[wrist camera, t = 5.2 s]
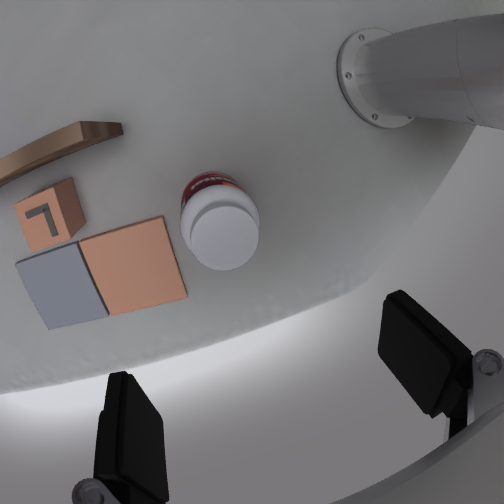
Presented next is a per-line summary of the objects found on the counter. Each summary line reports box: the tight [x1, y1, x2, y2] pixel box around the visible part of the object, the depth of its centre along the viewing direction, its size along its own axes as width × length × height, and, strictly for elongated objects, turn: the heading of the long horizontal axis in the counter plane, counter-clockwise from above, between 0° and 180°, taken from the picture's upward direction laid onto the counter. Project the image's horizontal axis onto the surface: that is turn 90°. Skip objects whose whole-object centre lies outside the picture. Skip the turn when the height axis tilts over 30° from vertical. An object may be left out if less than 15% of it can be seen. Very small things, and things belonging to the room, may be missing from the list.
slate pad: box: [15, 241, 110, 330], centre depth 29 cm, size 10×10×1 cm
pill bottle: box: [180, 172, 260, 271], centre depth 25 cm, size 6×6×11 cm
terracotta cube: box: [14, 177, 86, 253], centre depth 24 cm, size 5×5×5 cm
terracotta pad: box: [79, 216, 187, 316], centre depth 30 cm, size 10×10×1 cm
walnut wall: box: [0, 121, 123, 187], centre depth 18 cm, size 18×1×12 cm, turn 100°
